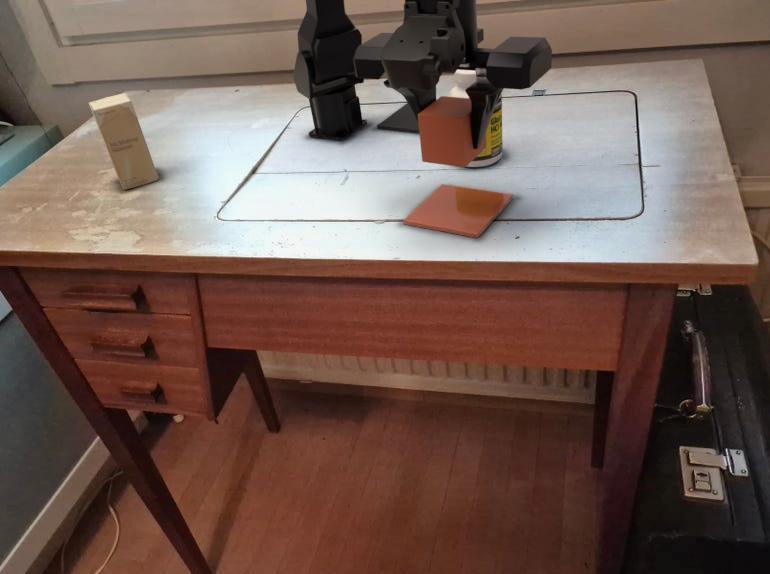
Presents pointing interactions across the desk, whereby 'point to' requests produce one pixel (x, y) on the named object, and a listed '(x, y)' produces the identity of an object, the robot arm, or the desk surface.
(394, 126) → the charcoal mat
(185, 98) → the desk surface
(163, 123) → the desk surface
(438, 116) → the terracotta block
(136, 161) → the box
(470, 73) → the pill bottle
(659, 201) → the desk surface
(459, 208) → the terracotta mat
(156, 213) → the desk surface
